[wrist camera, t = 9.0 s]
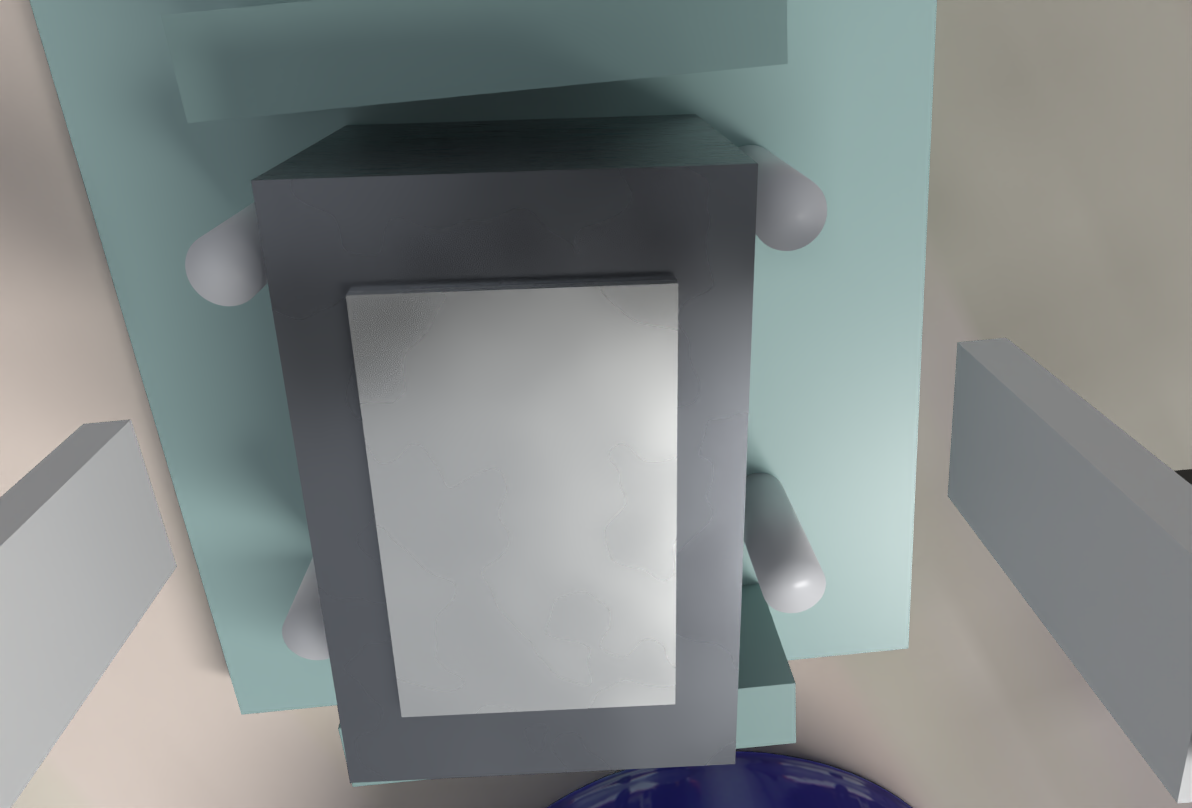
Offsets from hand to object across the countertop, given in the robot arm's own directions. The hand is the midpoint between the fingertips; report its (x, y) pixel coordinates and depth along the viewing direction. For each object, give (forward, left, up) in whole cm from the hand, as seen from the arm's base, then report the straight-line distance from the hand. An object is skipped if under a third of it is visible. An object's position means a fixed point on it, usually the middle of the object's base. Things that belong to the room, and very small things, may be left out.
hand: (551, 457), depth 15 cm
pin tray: (0, 0, -6) cm, 6 cm away
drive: (0, 0, -5) cm, 5 cm away
